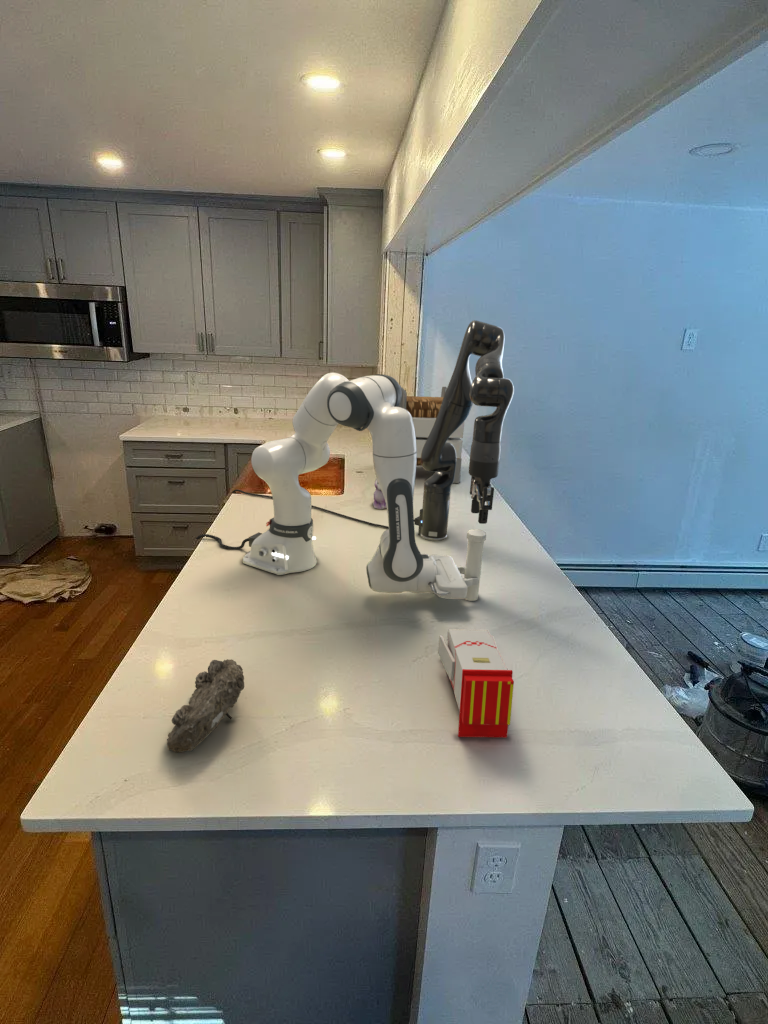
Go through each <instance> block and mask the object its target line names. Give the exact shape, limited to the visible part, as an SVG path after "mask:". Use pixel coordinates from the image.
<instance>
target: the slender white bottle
mask: <svg viewBox="0 0 768 1024" xmlns="http://www.w3.org/2000/svg"><path fill="white" fill-rule="evenodd" d="M484 545H485V541H484V542H472V541H469V540H468V539H467V548H466V557H465V566H464V567H465V574H463V575H464V577H463V578H466V579H470V578H471V577H477V578H478V579H479V584H478V585H471V586H469V587H467V597H466V598H464V599H463V600H466V601H469V602H474V601H477V600H478V599H479V590H480V581H481V575H482V566H483V565H482V563H483V555H484Z"/></svg>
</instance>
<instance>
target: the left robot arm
mask: <svg viewBox="0 0 768 1024" xmlns="http://www.w3.org/2000/svg"><path fill="white" fill-rule="evenodd" d="M399 385H400V384H399V382H398V381H397V380H396V379H395V378H394V377H392V376H391V375H388V374H381V373H378V374H372V375H365V376H360V377H357V378H353V379H350V380H349V379H348V378H347V377H346V376H345V375H343V374H341V373H338V372H328V373H326V374H324V375H323V376H322V377H320V379H318V381H316V383H314V385H313V386H312V387H311V388H310V390H309V392H307V394H306V396H305V397H304V399H303V400H302V402H301V403H300V405H299V407H298V409H297V410H296V412H295V414H294V415H293V418H292V427H293V431H294V433H293V434H292V435H291V436H289V437H285V438H280V439H274V440H270V441H267V442H264V443H263V444H260V445H259V446H257V447H256V448H254V450H253V452H252V454H251V460H250V461H251V467H252V470H253V472H254V473H255V475H256V476H257V477H258V478H259V479H261V480H262V481H264V482H265V484H267V486H268V487H269V489H270V493H271V496H273V498H272V503H273V517H271V518H270V519H269V521H267V522H266V523H265V524H266V525H265V526H266V527H269V528H268V529H267V530H265V531H263V532H256V533H255V534H252V535H250V536H248V538H245V539H243V540H242V542H241V545H238V546H230V545H227V544H224V543H223V539H222V538H220V537H219V536H216V535H213V534H207V533H202V534H200V535H198V536H196V537H195V540H200V539H201V538H209V539H213V540H216V541H218V545H219V546H220V547H221V548H223V549H227V550H231V551H232V550H241V549H243V548H244V547H245V544H246V543H247V542H248V547H250V550H249V551H248V552H247V553H246V554H244V556H243V558H242V564H245V565H247V566H249V567H254V568H256V569H259V570H262V571H264V572H268V573H271V574H274V575H277V576H282V575H287V574H292V573H300V572H306V571H309V570H311V569H313V568H314V567H315V566H316V565H317V563H318V560H317V557H316V554H315V550H314V549H315V548H314V543H313V540H314V541H315V540H316V539H317V537H316V536H314V520H313V519H314V518H312V507H311V505H312V495H311V493H310V492H309V491H308V490H307V489H306V488H304V487H302V486H301V485H300V482H299V476H300V475H303V474H307V473H310V472H314V471H316V470H318V469H320V468H321V467H323V466H325V465H327V464H328V462H329V460H330V456H331V448H330V446H329V443H328V441H329V439H330V437H331V436H332V434H333V433H334V431H335V430H336V429H337V427H338V425H341V426H344V427H348V428H351V429H354V430H356V431H358V432H364V431H365V430H366V429H367V430H368V432H369V433H370V435H371V445H372V447H371V448H372V449H371V450H372V461H373V468H374V474H375V477H376V479H377V480H378V483H379V486H380V488H381V491H382V493H383V496H384V499H385V502H386V506H387V508H386V511H387V523H388V527H389V529H387V528H386V530H384V531H383V532H382V533H381V536H380V538H379V542H378V545H377V548H376V550H375V552H374V554H373V556H372V558H371V559H370V561H369V562H368V563H367V564H366V567H365V568H366V577H367V583H368V587H369V588H370V590H372V591H373V592H376V593H382V594H402V593H405V592H407V593H413V594H435V595H436V596H438V597H439V598H441V599H447V600H449V599H450V600H465V599H464V598H466V597H467V587H469V586H471V585H478V584H479V585H480V583H479V579H478V578H477V577H471V578H470V579H466V578H464V577H463V575H465V566H462V565H457V564H456V563H455V561H454V558H453V556H450V555H447V554H428V553H421V552H420V550H419V547H418V544H417V542H416V536H415V525H414V523H415V522H414V520H415V516H414V494H415V484H416V474H417V466H416V463H417V447H416V436H415V429H414V424H413V419H412V416H411V414H410V413H409V412H408V411H407V410H406V409H403V408H401V407H398V406H399V404H400V402H401V398H402V393H401V388H400V386H401V385H400V386H399ZM205 536H206V537H205Z"/></svg>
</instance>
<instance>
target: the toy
mask: <svg viewBox="0 0 768 1024" xmlns="http://www.w3.org/2000/svg"><path fill="white" fill-rule="evenodd" d="M446 640H447V643H446V641H445V639H444V636H443V635H442V634H439V637H438V646H437V656H438V657H439V659H440V661H441V663H442V666H443V668H444V670H445V672H446V674H447V677H448V679H449V681H450V684H451V687H452V690H453V693H454V697H455V701H456V705H457V708H458V711H459V714H458V715H459V716H458V730H457V731H458V732H457V737H458V738H508V731H509V726H510V725H511V717H512V707H513V697H514V696H513V695H514V684H515V680H514V679H513V673H514V671H513V670H512V669H508V667H507V665H506V662H505V661H504V659H503V658H502V655H501V653H500V651H499V649H498V647H497V643H496V639H495V637H494V635H493V634H491V632H490V631H489V629H467V628H466V629H465V628H463V629H461V628H460V629H459V628H448V630H447V639H446Z"/></svg>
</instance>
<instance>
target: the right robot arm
mask: <svg viewBox="0 0 768 1024" xmlns="http://www.w3.org/2000/svg"><path fill="white" fill-rule="evenodd" d="M505 338H506V337H505V332H504V329H503V328H502V327H500V326H498V325H494V324H491V323H487V322H484V321H479V320H475V319H473V320H471V321H470V322H469V324H468V325H467V328H466V330H465V333H464V336H463V338H462V342H461V346H460V349H459V353H458V356H457V359H456V361H455V366H454V369H453V372H452V374H451V377H450V379H449V381H448V385H447V386H446V387H447V390H446V392H445V395H444V398H443V400H442V403H441V407H440V410H439V413H438V415H437V418H436V420H435V423H434V426H433V428H432V430H431V432H430V434H429V436H428V438H427V440H426V442H425V445H424V447H423V449H422V453H421V465H422V466H421V467H422V469H423V470H424V471H426V472H428V473H429V472H430V473H433V472H434V473H433V474H432V475H431V476H429V477H427V478H426V479H425V480H424V482H423V493H422V496H423V497H422V506H421V508H420V509H419V516H416V517H414V526H418V530H417V535H418V536H420V538H421V539H424V540H426V541H432V542H440V541H444V540H446V539H447V538H448V525H449V517H450V516H449V514H450V504H451V494H452V493H451V491H452V486H453V484H454V483H453V481H454V475H455V468H456V450H455V448H454V446H453V445H452V444H450V443H446V441H447V439H448V438H449V437H450V435H451V434H452V433H453V432H454V431H455V430H456V429H457V428H458V427H459V426H460V425H461V424H462V423H463V422H464V423H465V421H466V420H467V419H468V417H469V415H470V412H471V409H472V407H473V405H475V406H477V407H489V408H495V410H494V411H493V412H492V413H488V414H483V415H479V416H476V417H475V419H474V421H473V422H474V423H473V433H472V441H471V446H470V454H469V464H468V474H469V475H470V477H471V478H470V487H469V495H470V498H471V506H470V512H471V513H472V514H478V518H477V519H478V520H477V522H478V523H479V524H481V525H482V524H483V525H484V524H485V525H486V524H487V523H488V519H489V518H488V517H489V511H492V510H493V502H494V494H495V488H494V487H493V486H492V483H491V480H492V479H496V478H497V477H498V476H499V470H500V462H501V461H500V460H501V453H502V452H501V451H502V447H501V444H502V433H503V425H504V421H505V418H506V415H507V412H508V409H509V407H510V405H511V402H512V400H513V398H514V394H515V386H514V384H513V381H512V380H511V379H510V378H506V377H504V369H503V357H504V349H505V348H504V347H505ZM471 355H473V356H477V357H479V358H478V359H477V361H476V363H475V367H474V372H475V374H474V375H475V377H474V378H473V380H472V375H471V371H470V357H471ZM235 492H239V493H242V494H244V495H249V496H255V497H256V496H257V497H262V498H269V499H273V496H272V495H266V494H258V493H253V492H246V491H244V490H241V489H234V490H232V491H231V493H232V494H233V493H235ZM311 508H312V509H316V510H320V511H323V512H327V513H330V514H333V515H336V516H339V517H342V518H345V519H349V520H352V521H356V522H358V523H359V522H360V523H363V524H367V525H370V526H374V527H377V528H384V529H386V530H387V529H389V525H388V526H387V525H383V524H378V523H373V522H370V521H365V520H364V519H363V520H362V519H359V518H355V517H352V516H350V515H345V514H342V513H339V512H335V511H332V510H329V509H326V508H323V507H319V506H316V505H313V504H311Z"/></svg>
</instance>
